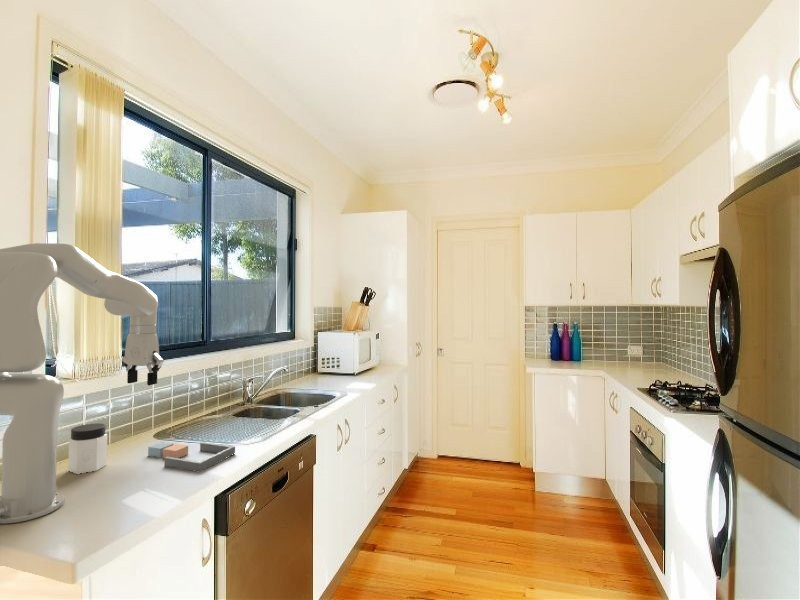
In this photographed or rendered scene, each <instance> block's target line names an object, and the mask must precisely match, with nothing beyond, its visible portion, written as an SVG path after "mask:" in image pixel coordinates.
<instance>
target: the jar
mask: <svg viewBox="0 0 800 600" xmlns="http://www.w3.org/2000/svg"><path fill="white" fill-rule="evenodd" d="M106 428H107V427H106V424H105V423H98V422H97V423H87V424H81V425H77V426H75V427H72V429H70V438H68V464H67V467H68V468H67V469H68V472H69V471H70V472H71V473H72V472H73V473H72V474H75V475H81V474H80V473H82V474H87V473H86V472H88V473H93V472H92V471H94V472H97V471H98V470H101V469H102V468H104V467H106V466H107V465H108V462H107V461H108V460H107V459H108V434H107V433H106Z"/></svg>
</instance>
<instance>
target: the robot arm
mask: <svg viewBox="0 0 800 600" xmlns="http://www.w3.org/2000/svg"><path fill="white" fill-rule="evenodd" d="M56 278H58V279H60V280H62V281H63V282H65V283H67V284H68V285H69V286H72V287H73V288H75V289H77V290H78V291H79V292H81V293H82V294H85V295H86V296H89V297H94V298H98V299H104V302H103V306H104V309H105V311H107V313H110V314H111V315H114V316H121V317H123V316H127V317H129V334H127V337H126V342H125V346H124V347H125V350H124V356H123V357H121V360H122V361H123V364H124V367H125V371H126V372H127V380H126V381H127V382H126V383H127V384H134V383H137V382H138V378H139V377H138V375H139V373H138V372H139V371H138V369H137V368H138V367H140V366H141V367H146V368H147V370H148V373H147V374H146V377H147V380H146V382H147V383H146V385H147V386H152V385H157V384H158V372H159V371H160V369H161V368H162V365H163V364H164V362H165V360H164V359H163V357H161V356H160V346H159V338H158V335H157V319H158V317H157V316H158V310H157V309H158V307H159V301H158V296H157V295H156V294H155V293H154V292H153V291H152V290H151V289H149V288H148V287H147V286H145V284H143V283H141V282H139V281H136V280H134V279H132V278H130V277H126V276H124V275H121V274H119V273H117V272H113V271H110V270H108V269H106V268H105V267H104V266H103V265H101V264H99V263H98V262H97V261H95V260H94V259H93V258H92V257H90V256H89V255H88V254H86V253H85V252H83V251H82V250H81V249H79V248H78V247H76V246H74V245H72V244H67V243H57V242H56V243H49V242H48V243H47V242H45V243H40V242H38V243H37V242H36V243H28V244H20V245H15V246H10V247H4V248H0V416H12V420H11V422H9V424H8V426H7V428H5V431H4V433H3V437H2V442H1V445H2V454H1V455H2V457H1V461H2V462H1V489H0V490H1V495H0V524H13V523H14V524H17V523H20V522H21V523H22V522H26V521H30V520H34V519H36V518H41V517H43V516H46V515H48V514H50V513H53V512H55V511H56V510H57V509H59V508H60V507H62V506H63V504H64V503H65V496H64V495H63V494H61V493H58V492H57V458H58V457H57V456H58V455H57V454H58V424H59V417H60V412H61V411H60V410H61V407H62V403H63V399H64V394H65V393H64V392H65V390H64V385H63V384H62V382H61V381H60V380H59V379H58V378H56V377H55V376H52V375H50V374H49V375H48V374H42V373H27V372H31V371H34V370H37V369H39V368H41V366H42V365H43V364H44V363H45V362H46V358H47V350H46V345H45V340H44V336H43V332H42V328H41V324H40V320H39V313H38V306H39V302H40V300H41V297H42V296H43V295H44V293H45V292H46V290H47V289H48V288H49V286H50V285H52V283H53V282H54V281H55V279H56ZM24 372H26V373H24Z"/></svg>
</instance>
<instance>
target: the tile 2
mask: <svg viewBox="0 0 800 600" xmlns="http://www.w3.org/2000/svg"><path fill="white" fill-rule="evenodd" d="M187 454H188V455H189V445H185V444H179V443H175V444H174V445H172V446H170V447H167V448H165V449H163V457H162V458H163V459H165V457H173V458H180V457H181V458H183V457H185V456H184V455H186V456H187ZM182 456H183V457H182ZM181 458H180V459H181Z"/></svg>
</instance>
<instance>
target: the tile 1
mask: <svg viewBox="0 0 800 600" xmlns="http://www.w3.org/2000/svg"><path fill="white" fill-rule="evenodd" d="M172 445H175V444H174V443H171V442H164V441H160V442H159V443H156V444H153V445H149V446H148V448H147V452H148V453H147V455H150V456H149V457H154V456H156V457H155V458H163V457H162V456H163V449H165V448H167V447H170V446H172Z"/></svg>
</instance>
